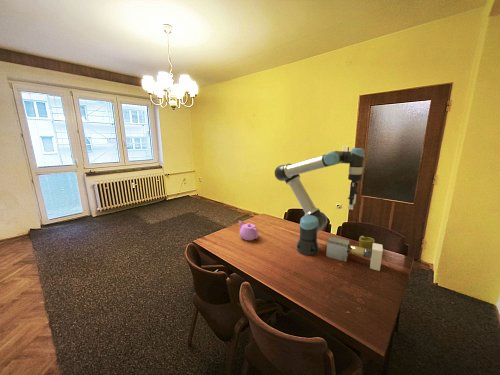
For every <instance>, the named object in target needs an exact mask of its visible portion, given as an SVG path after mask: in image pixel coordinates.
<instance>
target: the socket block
mask: <svg viewBox="0 0 500 375" xmlns="http://www.w3.org/2000/svg"><path fill="white" fill-rule="evenodd" d="M383 247H384V246H383V244H381V243H376V242H375V243H373V246H372V256H371V258H370V263H369V269H370V270H373V271H379V272H380V271H381V267H382V266H381V265H382V259H383V252H384V251H383V250H384V248H383Z"/></svg>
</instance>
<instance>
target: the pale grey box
mask: <svg viewBox="0 0 500 375" xmlns="http://www.w3.org/2000/svg"><path fill="white" fill-rule="evenodd" d="M348 245H350V239H346V238H342V237H338V236H333V235H329V237H328V239H327V241H326V255H325V257H326V258H327V257H328V258H330V259H335V260H338V261H343V262H345V263H346V262H347V260H348V256H349V253H347V250H348Z"/></svg>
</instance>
